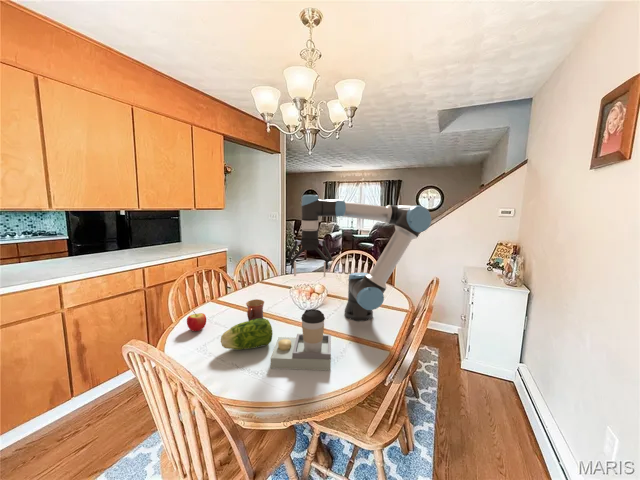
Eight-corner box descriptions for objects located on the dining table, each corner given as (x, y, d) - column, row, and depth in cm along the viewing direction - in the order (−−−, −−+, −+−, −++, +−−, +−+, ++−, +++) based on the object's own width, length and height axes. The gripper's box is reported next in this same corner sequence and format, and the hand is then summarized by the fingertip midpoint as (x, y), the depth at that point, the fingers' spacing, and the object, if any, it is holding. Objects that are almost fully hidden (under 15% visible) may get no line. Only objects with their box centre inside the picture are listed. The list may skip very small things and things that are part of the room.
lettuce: (219, 346, 111) (218, 321, 109) (267, 335, 120) (267, 312, 119) (223, 361, 101) (221, 334, 99) (275, 348, 110) (275, 323, 108)
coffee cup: (327, 344, 106) (327, 308, 104) (320, 356, 98) (320, 318, 95) (306, 340, 109) (306, 305, 107) (297, 352, 101) (297, 314, 98)
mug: (251, 317, 139) (251, 298, 137) (267, 319, 137) (267, 300, 135) (240, 328, 127) (239, 307, 125) (257, 330, 125) (256, 309, 124)
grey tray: (330, 347, 111) (330, 334, 110) (330, 370, 96) (330, 355, 95) (278, 345, 112) (278, 332, 111) (270, 368, 97) (270, 353, 96)
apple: (183, 332, 122) (181, 312, 121) (197, 324, 130) (196, 305, 129) (197, 335, 120) (195, 314, 118) (210, 327, 128) (209, 307, 126)
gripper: (337, 229, 122) (336, 273, 125) (283, 228, 123) (284, 272, 126) (338, 231, 114) (337, 278, 118) (280, 230, 115) (281, 277, 119)
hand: (309, 275), depth 122 cm, fingers open, 13 cm apart
